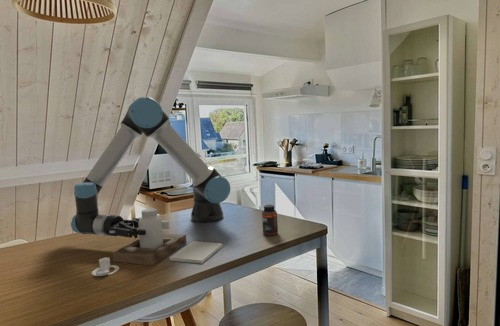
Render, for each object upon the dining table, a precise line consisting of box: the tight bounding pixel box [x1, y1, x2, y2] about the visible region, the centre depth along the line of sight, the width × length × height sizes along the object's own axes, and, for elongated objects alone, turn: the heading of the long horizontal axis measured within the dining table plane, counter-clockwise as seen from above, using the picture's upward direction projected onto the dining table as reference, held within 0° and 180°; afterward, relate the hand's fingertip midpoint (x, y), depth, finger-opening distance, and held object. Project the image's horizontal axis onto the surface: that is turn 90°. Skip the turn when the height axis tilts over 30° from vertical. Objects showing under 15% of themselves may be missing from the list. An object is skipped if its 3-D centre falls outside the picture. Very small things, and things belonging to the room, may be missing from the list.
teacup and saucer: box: [91, 257, 120, 277], centre depth 108 cm, size 9×8×4 cm
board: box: [169, 240, 224, 264], centre depth 120 cm, size 16×12×1 cm
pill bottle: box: [138, 207, 163, 249], centre depth 123 cm, size 8×8×15 cm
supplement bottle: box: [261, 204, 279, 237], centre depth 136 cm, size 6×6×11 cm
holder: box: [112, 232, 187, 266], centre depth 123 cm, size 22×15×3 cm
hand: (162, 228), depth 121 cm, fingers closed on pill bottle, 8 cm apart
